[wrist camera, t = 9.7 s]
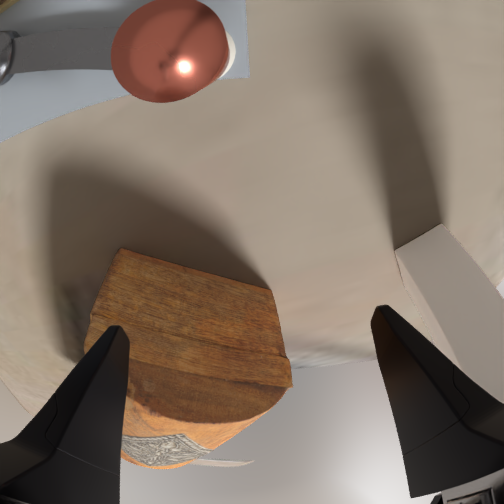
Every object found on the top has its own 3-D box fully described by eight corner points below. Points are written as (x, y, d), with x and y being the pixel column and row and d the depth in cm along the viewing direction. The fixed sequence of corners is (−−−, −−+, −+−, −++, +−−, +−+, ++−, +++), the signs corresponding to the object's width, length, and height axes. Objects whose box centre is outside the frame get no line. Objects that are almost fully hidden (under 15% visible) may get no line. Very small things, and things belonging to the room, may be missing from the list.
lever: (-27, 37, 7) (-96, 56, 1) (242, 23, 11) (249, -14, 5) (-35, 92, 9) (-101, 124, 3) (218, 98, 14) (205, 123, 8)
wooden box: (110, 238, 22) (46, 381, 11) (282, 289, 27) (307, 430, 16) (104, 380, 38) (90, 455, 27) (198, 402, 43) (197, 476, 32)
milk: (441, 222, 23) (566, 414, 5) (445, 261, 26) (539, 429, 8) (392, 250, 25) (498, 470, 7) (402, 287, 28) (482, 470, 10)
